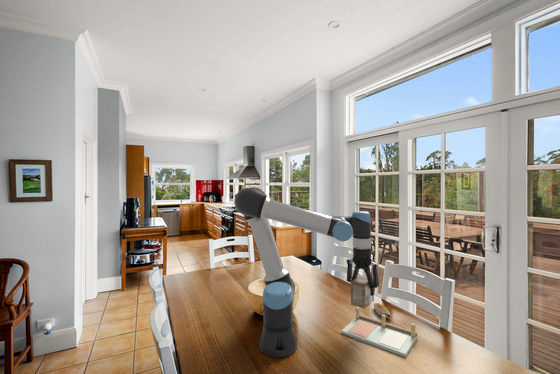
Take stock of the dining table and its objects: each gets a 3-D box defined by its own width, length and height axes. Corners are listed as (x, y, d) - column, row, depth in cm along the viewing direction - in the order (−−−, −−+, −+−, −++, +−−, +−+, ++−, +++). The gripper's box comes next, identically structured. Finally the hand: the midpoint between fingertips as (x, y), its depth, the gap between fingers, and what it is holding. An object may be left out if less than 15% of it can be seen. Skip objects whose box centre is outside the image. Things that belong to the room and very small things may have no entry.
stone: (380, 307, 142) (380, 299, 142) (393, 321, 128) (393, 311, 128) (370, 308, 142) (370, 299, 142) (382, 321, 127) (382, 312, 127)
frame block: (364, 308, 113) (364, 284, 113) (350, 304, 117) (350, 281, 117) (374, 300, 121) (373, 277, 121) (360, 297, 125) (360, 275, 124)
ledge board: (417, 338, 113) (417, 323, 113) (405, 357, 101) (405, 340, 101) (357, 318, 130) (357, 305, 130) (341, 333, 118) (341, 318, 118)
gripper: (387, 248, 115) (388, 303, 115) (345, 242, 128) (346, 292, 128) (380, 252, 110) (381, 309, 110) (337, 245, 122) (338, 297, 122)
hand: (362, 300), depth 119 cm, fingers closed on frame block, 6 cm apart
